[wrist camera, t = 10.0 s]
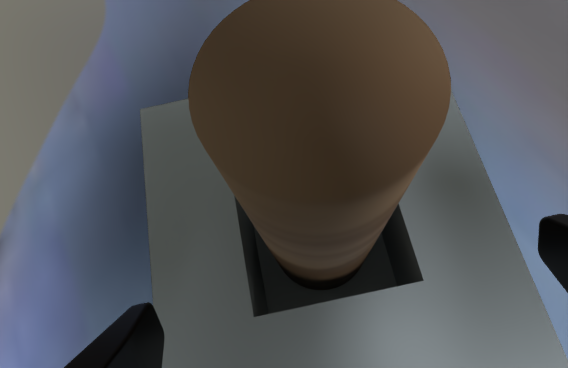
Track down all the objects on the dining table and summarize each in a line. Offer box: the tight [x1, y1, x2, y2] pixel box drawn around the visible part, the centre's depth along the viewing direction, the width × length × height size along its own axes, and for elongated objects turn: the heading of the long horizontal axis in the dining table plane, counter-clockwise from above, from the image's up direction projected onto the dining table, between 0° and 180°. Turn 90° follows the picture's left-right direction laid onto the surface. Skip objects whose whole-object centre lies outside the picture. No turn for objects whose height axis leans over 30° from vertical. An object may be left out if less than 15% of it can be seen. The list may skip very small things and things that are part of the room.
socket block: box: [140, 91, 568, 368], centre depth 17 cm, size 13×13×5 cm
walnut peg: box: [188, 0, 451, 290], centre depth 13 cm, size 4×4×13 cm
